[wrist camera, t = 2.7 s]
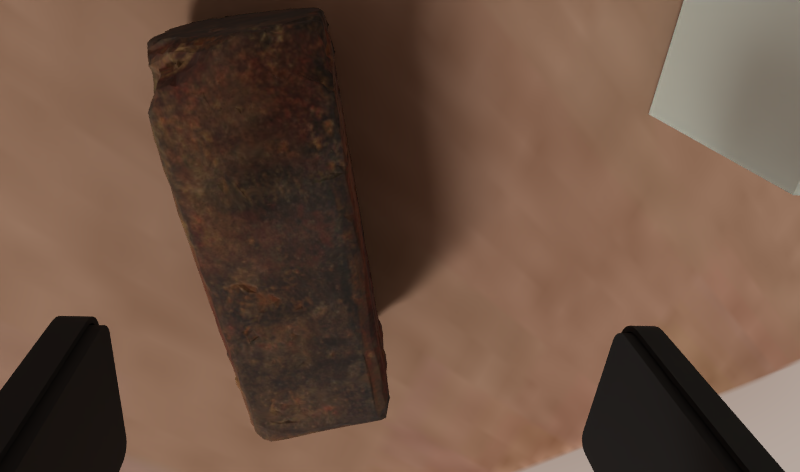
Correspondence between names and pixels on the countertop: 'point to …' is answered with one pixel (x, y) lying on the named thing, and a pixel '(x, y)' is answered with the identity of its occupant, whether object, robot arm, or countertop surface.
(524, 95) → the countertop surface
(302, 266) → the brick
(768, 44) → the sage block
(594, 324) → the countertop surface
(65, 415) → the robot arm
